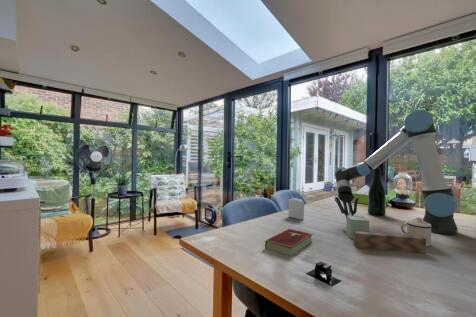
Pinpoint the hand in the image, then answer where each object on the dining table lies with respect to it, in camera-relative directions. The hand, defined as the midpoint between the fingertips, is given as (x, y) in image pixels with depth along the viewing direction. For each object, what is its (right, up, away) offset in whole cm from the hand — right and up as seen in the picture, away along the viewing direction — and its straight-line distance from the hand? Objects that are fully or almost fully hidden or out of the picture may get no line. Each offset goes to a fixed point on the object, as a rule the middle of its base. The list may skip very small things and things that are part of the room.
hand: (351, 224), depth 121 cm
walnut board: (+3, -3, -25) cm, 25 cm away
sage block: (-2, -3, -9) cm, 10 cm away
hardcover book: (-38, -3, -22) cm, 44 cm away
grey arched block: (-24, -3, +23) cm, 33 cm away
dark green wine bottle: (+35, -4, +36) cm, 51 cm away
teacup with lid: (+21, -4, -16) cm, 27 cm away
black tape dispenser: (-33, -3, -49) cm, 59 cm away
